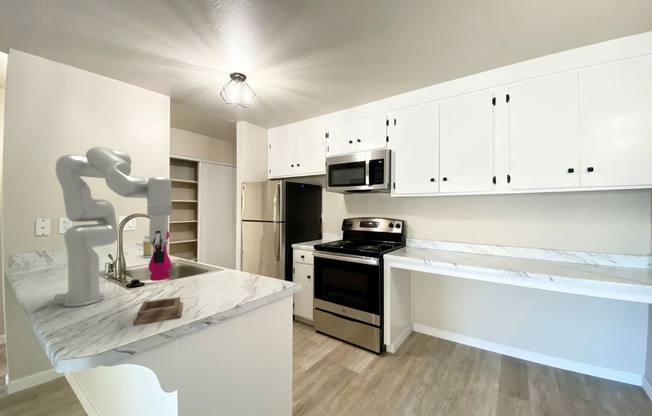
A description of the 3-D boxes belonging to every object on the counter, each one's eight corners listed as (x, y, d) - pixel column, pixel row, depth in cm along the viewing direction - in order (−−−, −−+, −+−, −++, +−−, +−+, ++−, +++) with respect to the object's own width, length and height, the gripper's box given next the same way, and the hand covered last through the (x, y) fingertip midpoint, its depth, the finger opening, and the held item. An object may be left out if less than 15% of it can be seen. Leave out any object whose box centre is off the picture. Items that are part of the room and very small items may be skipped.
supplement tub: (161, 254, 213) (160, 233, 213) (163, 257, 204) (163, 234, 204) (142, 256, 206) (142, 234, 205) (144, 259, 196) (144, 236, 196)
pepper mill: (160, 281, 94) (160, 224, 93) (143, 280, 95) (142, 224, 95) (176, 276, 101) (175, 223, 101) (159, 275, 102) (159, 223, 102)
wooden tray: (133, 325, 89) (133, 314, 89) (141, 310, 101) (141, 301, 101) (181, 317, 95) (180, 307, 95) (183, 304, 107) (183, 295, 107)
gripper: (151, 211, 104) (151, 257, 104) (142, 212, 88) (143, 267, 89) (173, 211, 107) (173, 256, 107) (169, 212, 92) (169, 265, 92)
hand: (160, 260), depth 98 cm, fingers closed on pepper mill, 5 cm apart
